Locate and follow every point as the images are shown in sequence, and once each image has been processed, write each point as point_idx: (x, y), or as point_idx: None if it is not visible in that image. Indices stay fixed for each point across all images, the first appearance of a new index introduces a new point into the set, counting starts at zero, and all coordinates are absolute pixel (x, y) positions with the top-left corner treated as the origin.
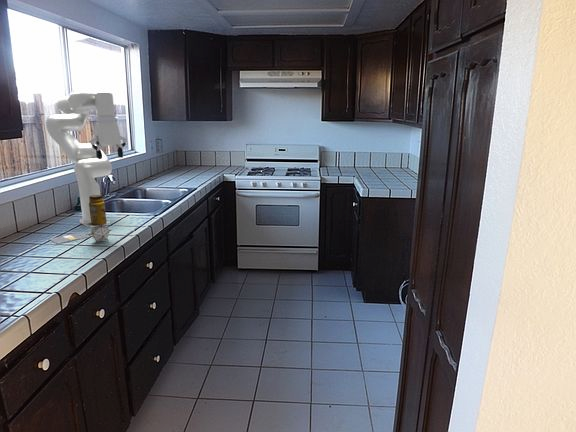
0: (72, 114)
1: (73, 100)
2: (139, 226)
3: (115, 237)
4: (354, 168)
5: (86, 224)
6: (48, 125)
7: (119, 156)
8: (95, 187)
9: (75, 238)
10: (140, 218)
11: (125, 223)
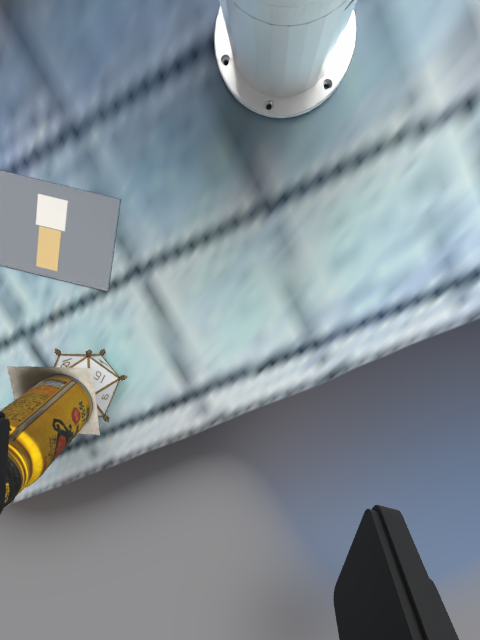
0: None
1: None
2: (313, 339)
3: (155, 376)
4: None
5: (19, 376)
6: None
7: (353, 560)
8: (292, 5)
9: (55, 265)
10: (435, 228)
11: (325, 241)
